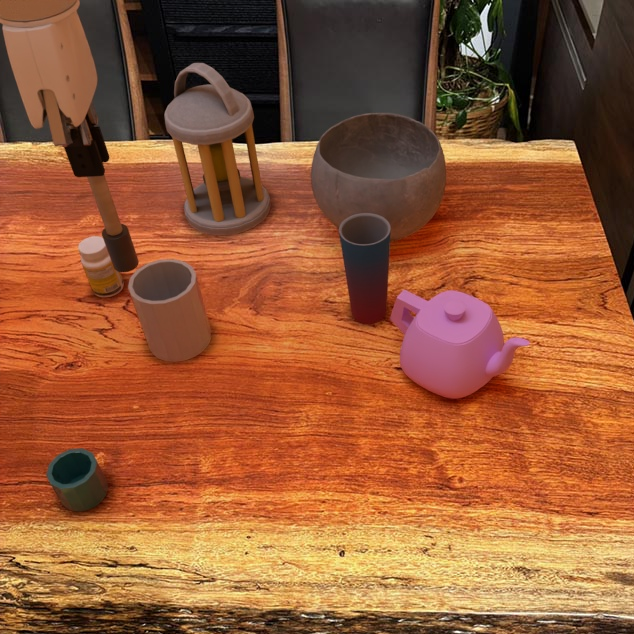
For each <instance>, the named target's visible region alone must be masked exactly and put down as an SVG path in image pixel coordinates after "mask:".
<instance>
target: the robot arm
mask: <svg viewBox="0 0 634 634" xmlns="http://www.w3.org/2000/svg"><path fill="white" fill-rule="evenodd" d="M80 4H81V3H80V0H0V24H1V25H2V27H1V28H2V33H3V34H2V35H3V38H4V43H5V47H6V48H5V49H6V51H7V56H8V59H9V60H8V61H9V63H10V66H11V71H12V73H13V76H14V79H15V82H16V85H17V88H18V92H19V94H20V98H21V100H22V104H23V107H24V109H25V113H26V114H27V117H28V120H29V122H30V124H31V126H32V127H33V128H34V129H35V130H40V129H42V128H44V125H45V122H46V121H47V120H48V124H49V125H48V126H49V130H50V134H51V138H52V139H51V140H52V143H53V146H55V147H62V148H63V149H64V151H65V155H66V157H67V159H68V163H69V165H70V168H71V170H72V173H73V175H74V177H76V178H87V177H93V176H103V175H105V172H106V169H105V166H104V163H108V162H109V160H110V154H109V151H108V148H107V145H106V141H105V139H104V135H103V132H102V129H101V126H98V125H99V116H98V114H97V111H96V110H97V109H96V107H95V104H94V101H93V100H94V99H93V98H94V95H95V92H96V90H97V86H98V73H97V68H96V64H95V60H94V57H93V54H92V51H91V47H90V45H89V42H88V39H87V35H86V33H85V30H84V27H83V25H82V22H81V20H80V16H79V14H78V9H79V7H80ZM84 118H85V119H86V121H87V124H88V127H89V130H90V133H91V136H92V139H93V140H91V137H90V134H89V131H88V128H87V125H86V122H85V119H84ZM72 125H74V126H75V127H78V130H79V131H78V130H77V129H70V127H69V126H72Z"/></svg>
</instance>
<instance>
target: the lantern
mask: <svg viewBox="0 0 634 634" xmlns="http://www.w3.org/2000/svg"><path fill="white" fill-rule="evenodd" d="M189 73H192V74H193V73H194V74H196V75H199V76H201V77H202V78H204V79H205V80H207V82H209V83H210V84H203V85H196V86H193V87H191V88H187V89H186V81H187V77H188V75H189ZM173 95H174V98H173V100H171V101H170V103H169V104H168V105H167V107H166V109H165V111H164V124H165V128H166V132H167V133H168V134H169V135H170V136H171V138H172V142H173V146H174V151H175V154H176V158H177V163H178V166H179V171H180V175H181V179H182V182H183V186H184V190H185V195H186V198H185V201H184V203H183V209H184V216H185V219H186V221H187V222H188V224H189V225H190V227H192V228H193V229H195V230H196V231H199V232H200V233H203V234H207V235H212V236H230V235H231V236H232V235H236V234H242V233H244V232H246V231H248V230H252V229H254V228H255V227H257V226H258V225H260V224H261V223H262V222H264V220H265V219H266V218H267V216H268V215H269V214H270V210H271V199H270V193H269V191H268V189H266V188H265V187H264V186H263V184H262V178H261V173H260V166H259V160H258V153H257V148H256V143H255V135H254V129H253V122H254V119H255V115H254V110H253V107H252V102H251V100H250V99H249V98H248V97H247V96H246V95H245V94H244V93H243V92H240V91H239V90H237V89H234V88H232V87H230V85H229V84H228V83H227V81H226V80H225V78H224V77H223V76H222V75H221V74H220V73H219V72H218V71H217V70H215V68H214V67H211V66H210V65H208V64H206V63H204V62H194V63H193V62H192V63H191V64H190V65H188V66H186V67H185V68H183V69H182V70H180V71H179V73H178V74H177V77H176V80H175V81H174V90H173ZM242 134H244V137H245V143H246V150H247V155H248V159H249V160H248V161H249V166H250V171H251V178H250V177H245V176H241V172H240V170H239V168H238V165H237V159H236V154H235V153H236V152H235V148H234V143H233V140H234V139H236V138H238V137H239V136H241V135H242ZM183 143H186V144H190V145H196V146H197V149H198V154H199V158H200V163H201V166H202V173H203V174H202V181H203V182H202V183H200V184H198V185H197V186H196V187H195V188H194V186H193V183H192V178H191V174H190V171H189V165H188V161H187V157H186V153H185V149H184V144H183Z"/></svg>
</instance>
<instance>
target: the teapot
mask: <svg viewBox="0 0 634 634" xmlns="http://www.w3.org/2000/svg"><path fill="white" fill-rule="evenodd" d="M410 312H412V313H414V315H415V314H416V315H415V316H414V315H412V314H411V313H410ZM389 320H390V322H392V324H394V325H395V326H396V328H397V329H399V331H400V332H401V333H402V334H403V335H404V336H403V338H402V342H401V347H400V351H399V366H400V368H401V369H402V372H403V374H405V375H406V376H407V377H408V378H409V379H410V380H411V381H413V382H414V383H415V384H417V385H418V386H420V387H422V388H423V389H425V390H427V391H429V392H431V393H432V394H435V395H438V396H441V397H444V398H447V399H452V400H453V399H454V400H455V399H456V400H457V399H462V398H465V397H468V396H470V395H472V394H474V393H475V392H477V391H478V390H480V389H481V388H483V387H484V386H486V384H488V382H490V381H491V380H492V379H493V377H498V376H500V375H502V374H504V373H505V372H506V371H507V370H508V369H509V368H510V367H511V366H512V363H513V361H514V357H515V353H516V350H517V349H519V348H522V347H528V346H529V345H530V344H531V342H530V340H528V339H526V338H523V337H518V336H517V337H515V336H514V337H510V338H508V339H507V340H506V341H505V337H504V332H503V329H502V326H501V323H500V321H499V319H498V317H497V315H496V313H495V312H494V310H493V309H492V307H490V305H489V304H488V303H486V302H484V301H482V300H481V299H479V298H477V297H475V296H473V295H470V294H467V293H465V292H462V291H458V290H453V289H452V290H450V289H449V290H445V291H442V292H440V293H438V294H436V295H434V296H433V297H432V298H431V299H429V300H426V299H425V298H423V297H420V296H418V295H417V294H415V293H413V292H410V291H408V290H406V289H403V290H402V291H401V292H400V293H399V294H398V295H397V296H396V299H395V300H394V305H393V307H392V311H391V315H390V318H389Z"/></svg>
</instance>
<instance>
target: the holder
mask: <svg viewBox="0 0 634 634" xmlns="http://www.w3.org/2000/svg"><path fill="white" fill-rule="evenodd" d="M46 478H47V480H48V482H49V484H50V486H51V488H52V489H53V491H54V492H55V494H56V496H57V498H58V500H59V501H60V503H61V505H62V506H63V507H65V508H66V509H67V510H69V511H71V512H76V513H77V512H87V511H89V510H91V509H95V507H97V506H98V505H100V504H101V503H102V501H104V499H105V498H106V496H107V494H108V491H109V483H108V480H107V478H106V476H105V474H104V472H103V470H102V468H101V466H100V464H99V462H98V460H97V459H96V456H95V455H94V453H93V452H92V451H90V450H87V449H85V448H83V447H82V448H70V449H67V450H65V451H63V452H61V453H59V454H57V455H56V456H55V457H54V458H53V459H52V461H50V463H49V464H48V467H47V470H46Z"/></svg>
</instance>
